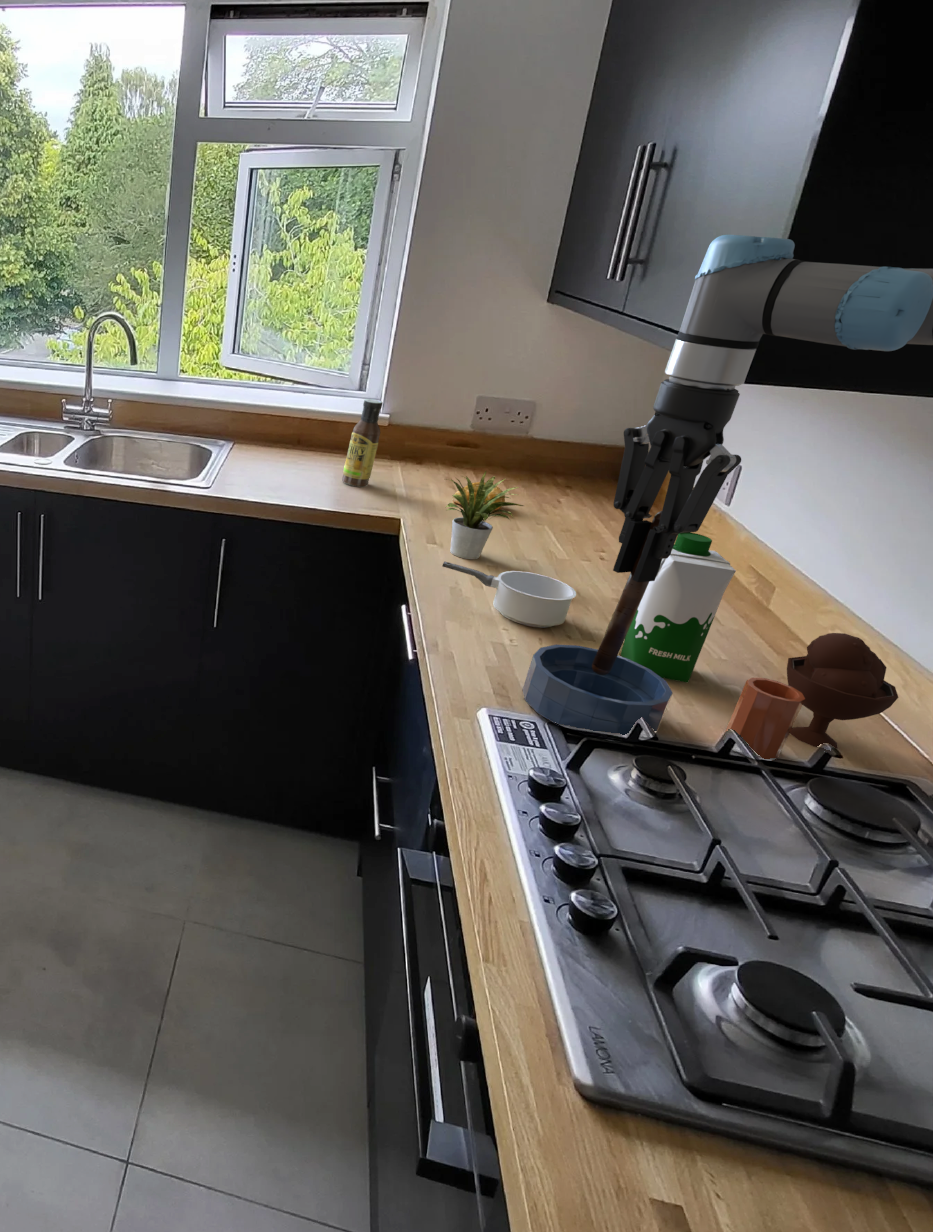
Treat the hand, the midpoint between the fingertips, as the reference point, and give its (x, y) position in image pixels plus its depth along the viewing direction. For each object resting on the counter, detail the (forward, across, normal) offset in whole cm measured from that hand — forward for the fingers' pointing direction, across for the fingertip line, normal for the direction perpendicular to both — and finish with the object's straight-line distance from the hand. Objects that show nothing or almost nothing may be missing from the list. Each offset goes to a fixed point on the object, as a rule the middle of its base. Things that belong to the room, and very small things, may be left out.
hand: (633, 575), depth 109 cm
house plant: (+20, +52, -24) cm, 61 cm away
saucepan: (+20, +30, -13) cm, 38 cm away
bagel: (+20, +79, -51) cm, 97 cm away
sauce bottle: (+20, +97, -31) cm, 104 cm away
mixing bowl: (+20, 0, 0) cm, 20 cm away
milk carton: (+20, +8, -21) cm, 30 cm away
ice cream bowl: (+20, -12, -25) cm, 34 cm away
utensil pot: (+19, -12, -14) cm, 27 cm away
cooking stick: (+14, 0, 0) cm, 14 cm away
